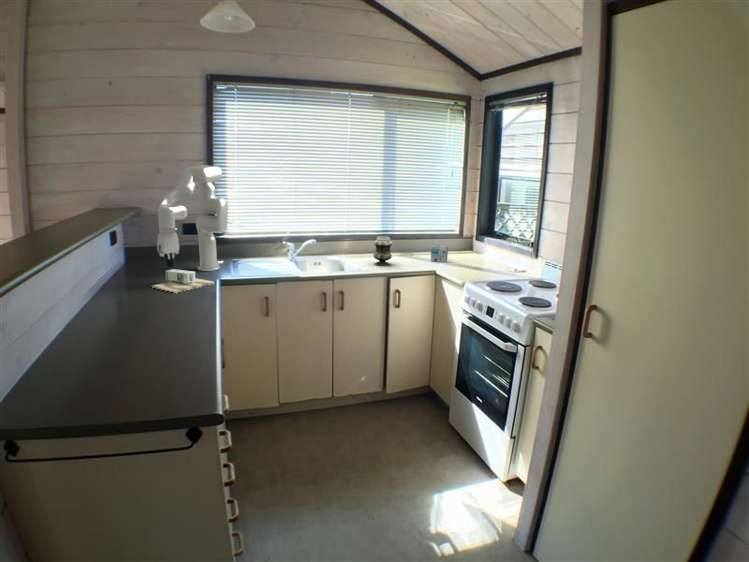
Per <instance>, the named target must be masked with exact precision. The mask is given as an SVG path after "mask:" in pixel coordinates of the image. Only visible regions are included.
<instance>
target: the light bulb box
mask: <svg viewBox="0 0 749 562" xmlns="http://www.w3.org/2000/svg"><path fill="white" fill-rule="evenodd" d="M430 250H431V251H430V262H432V263H442V264H443V263H445V264H446V263H447V262H448V256H449V255H448V253H449V245H443V244H442V245H440V244H432V245H431V249H430Z"/></svg>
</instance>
